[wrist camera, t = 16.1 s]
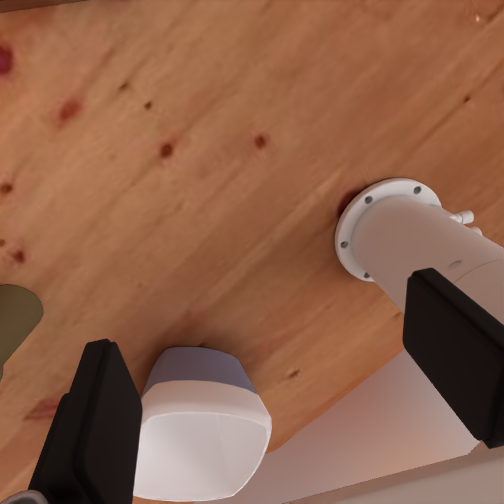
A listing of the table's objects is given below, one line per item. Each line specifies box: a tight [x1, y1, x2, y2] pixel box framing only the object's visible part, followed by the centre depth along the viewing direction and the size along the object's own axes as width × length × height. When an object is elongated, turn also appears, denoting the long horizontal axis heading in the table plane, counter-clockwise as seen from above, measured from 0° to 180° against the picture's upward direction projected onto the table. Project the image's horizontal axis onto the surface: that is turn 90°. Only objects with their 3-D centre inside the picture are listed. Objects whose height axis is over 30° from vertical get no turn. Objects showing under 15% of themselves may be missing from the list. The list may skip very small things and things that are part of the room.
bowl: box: [133, 347, 271, 501], centre depth 42 cm, size 15×15×11 cm
